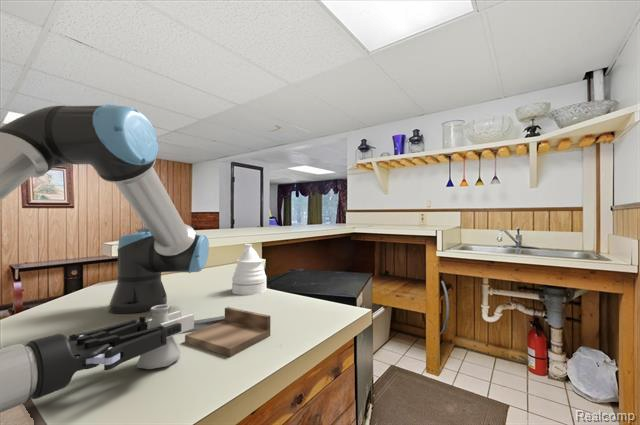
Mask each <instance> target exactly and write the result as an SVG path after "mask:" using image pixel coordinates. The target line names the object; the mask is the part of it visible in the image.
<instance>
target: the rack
mask: <svg viewBox="0 0 640 425" xmlns="http://www.w3.org/2000/svg"><path fill="white" fill-rule="evenodd" d="M224 317H225V320H224V321H221V322H218V323H216V324H213V325H210V326H208V327H205V328H202V329H200V330H196V331H191V332H188V333H187V334H185V335H184V343H187V344H190V345H193V346H196V347H199V348H202V349H205V350H208V351H211V352H214V353H217V354H220V355H224V356H226V357H230V358H231V357H232V356H234V355H236V354H238V353H241V352H243V351H244V350H246V349H248V348H249V347H251V346H253V345H256V344H257V343H260V342H261V341H263V340H264V339H267V338H268V337H270V336H271V315H267V314H264V313H259V312H254V311H248V310H243V309H239V308H235V307H229V306H227V307H225V308H224Z"/></svg>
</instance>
